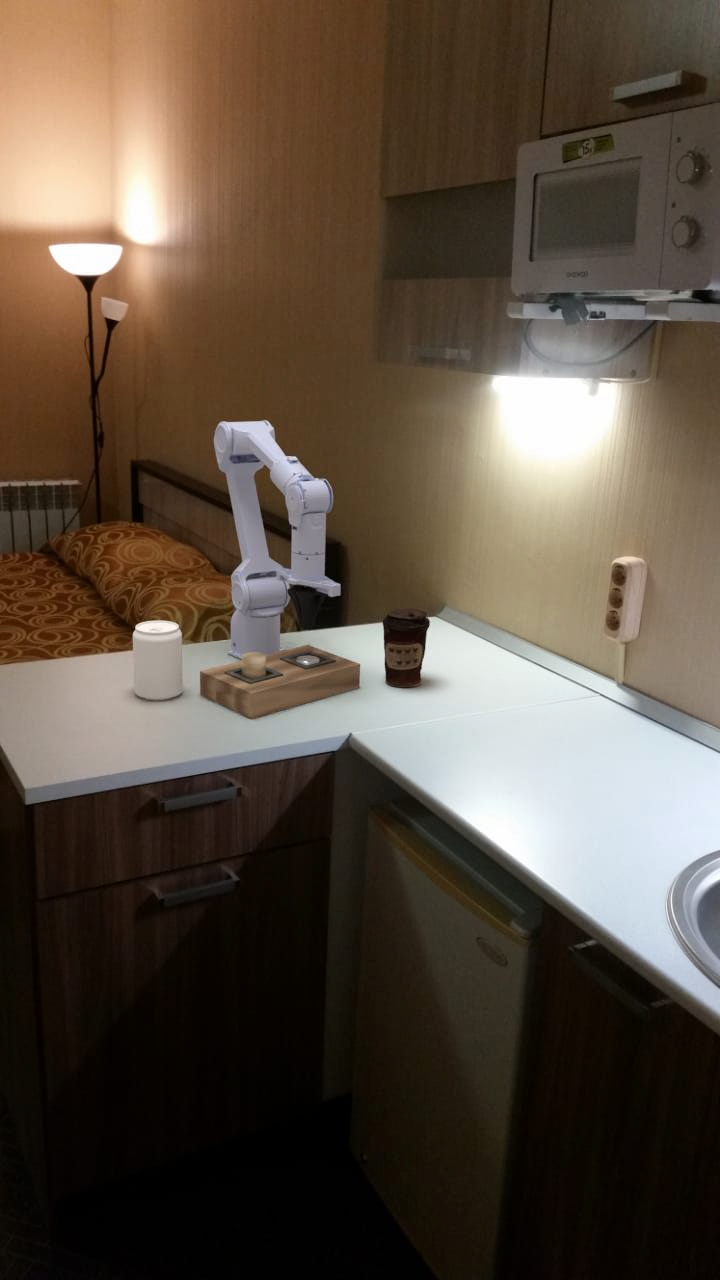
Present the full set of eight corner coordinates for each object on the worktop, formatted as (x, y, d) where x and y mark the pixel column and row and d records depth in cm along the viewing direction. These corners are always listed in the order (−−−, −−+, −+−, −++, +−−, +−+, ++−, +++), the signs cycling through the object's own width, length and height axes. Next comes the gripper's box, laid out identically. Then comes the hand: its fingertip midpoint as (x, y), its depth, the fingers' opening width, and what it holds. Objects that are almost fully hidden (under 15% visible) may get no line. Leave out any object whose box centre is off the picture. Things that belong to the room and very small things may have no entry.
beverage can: (188, 687, 188) (187, 621, 185) (175, 703, 181) (174, 634, 177) (142, 684, 189) (140, 618, 185) (128, 700, 181) (126, 631, 178)
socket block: (200, 695, 185) (199, 669, 183) (307, 667, 201) (307, 643, 199) (251, 719, 175) (251, 691, 174) (359, 687, 191) (360, 662, 190)
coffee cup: (427, 692, 190) (431, 620, 186) (380, 690, 190) (382, 618, 186) (425, 675, 198) (429, 607, 195) (380, 674, 198) (383, 605, 195)
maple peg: (237, 680, 183) (237, 655, 182) (255, 675, 186) (255, 650, 184) (251, 686, 180) (251, 661, 179) (270, 681, 183) (270, 656, 182)
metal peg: (291, 682, 192) (291, 658, 190) (308, 678, 194) (309, 654, 193) (306, 688, 189) (306, 664, 188) (323, 683, 192) (324, 659, 190)
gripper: (262, 546, 187) (262, 622, 191) (319, 562, 177) (317, 642, 181) (294, 541, 191) (293, 615, 195) (350, 556, 182) (348, 634, 186)
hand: (306, 628), depth 188 cm, fingers closed
